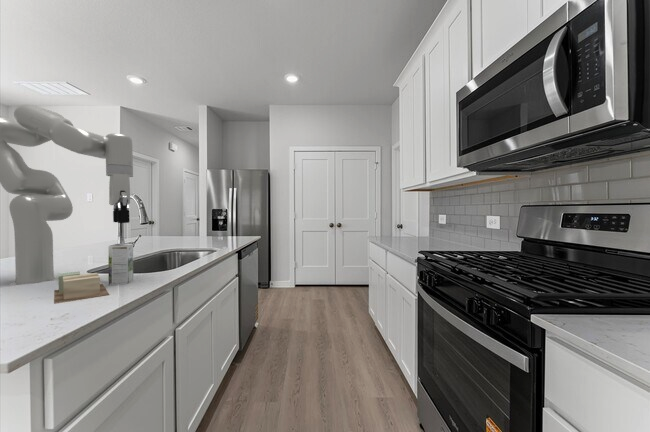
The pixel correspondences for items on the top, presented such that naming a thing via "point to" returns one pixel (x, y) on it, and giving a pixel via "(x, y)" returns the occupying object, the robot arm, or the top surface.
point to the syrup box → (120, 264)
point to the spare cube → (60, 279)
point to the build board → (60, 298)
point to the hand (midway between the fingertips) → (121, 222)
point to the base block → (81, 285)
